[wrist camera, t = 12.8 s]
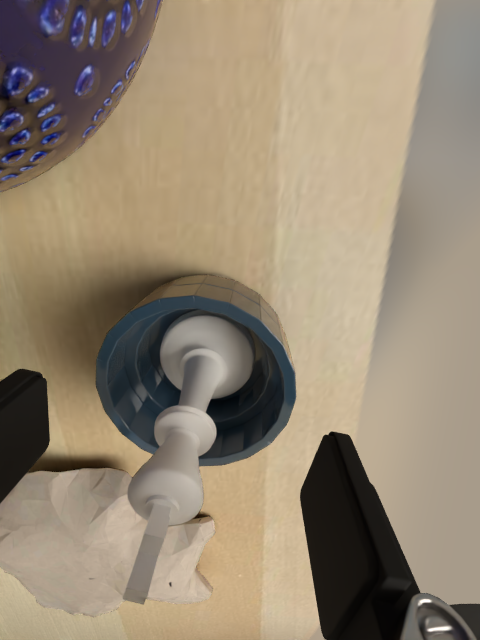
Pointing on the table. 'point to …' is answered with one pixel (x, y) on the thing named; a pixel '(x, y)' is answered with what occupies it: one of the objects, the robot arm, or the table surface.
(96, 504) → the stone
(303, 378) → the table surface
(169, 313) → the glazed bowl
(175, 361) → the chess piece
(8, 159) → the planter
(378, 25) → the table surface
